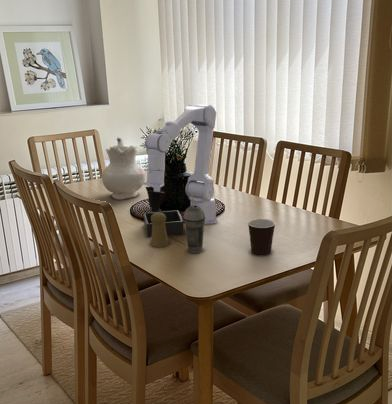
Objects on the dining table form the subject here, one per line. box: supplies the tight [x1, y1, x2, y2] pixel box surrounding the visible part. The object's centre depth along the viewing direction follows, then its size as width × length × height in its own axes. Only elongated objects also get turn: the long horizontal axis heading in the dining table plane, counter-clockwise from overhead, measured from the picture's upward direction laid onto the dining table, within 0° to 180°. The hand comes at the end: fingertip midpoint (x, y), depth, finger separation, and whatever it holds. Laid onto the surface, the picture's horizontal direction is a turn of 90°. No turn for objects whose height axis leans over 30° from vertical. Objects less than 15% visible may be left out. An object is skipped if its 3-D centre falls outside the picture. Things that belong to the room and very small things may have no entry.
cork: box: [150, 213, 169, 248], centre depth 188 cm, size 6×6×11 cm
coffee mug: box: [248, 218, 276, 257], centre depth 180 cm, size 12×9×10 cm
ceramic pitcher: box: [101, 136, 146, 201], centre depth 244 cm, size 22×20×25 cm
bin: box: [143, 209, 185, 238], centre depth 202 cm, size 13×13×5 cm
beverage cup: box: [182, 192, 205, 254], centre depth 180 cm, size 7×7×20 cm
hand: (153, 209), depth 187 cm, fingers open, 7 cm apart
